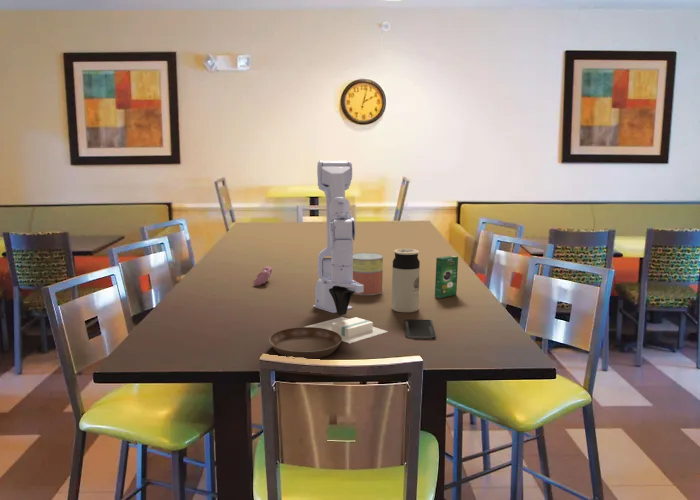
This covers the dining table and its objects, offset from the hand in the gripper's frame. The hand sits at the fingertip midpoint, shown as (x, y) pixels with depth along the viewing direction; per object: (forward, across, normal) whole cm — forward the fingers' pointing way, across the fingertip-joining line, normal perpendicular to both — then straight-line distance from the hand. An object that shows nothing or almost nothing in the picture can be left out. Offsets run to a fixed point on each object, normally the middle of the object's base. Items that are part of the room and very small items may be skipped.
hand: (341, 314), depth 167 cm
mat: (+4, +2, 0) cm, 4 cm away
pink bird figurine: (+4, -58, +15) cm, 60 cm away
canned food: (+4, -26, +34) cm, 43 cm away
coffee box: (+4, -4, +49) cm, 49 cm away
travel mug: (+4, -2, +27) cm, 27 cm away
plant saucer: (+5, +6, -17) cm, 18 cm away
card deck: (+3, +1, 0) cm, 3 cm away
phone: (+5, +14, +15) cm, 21 cm away
